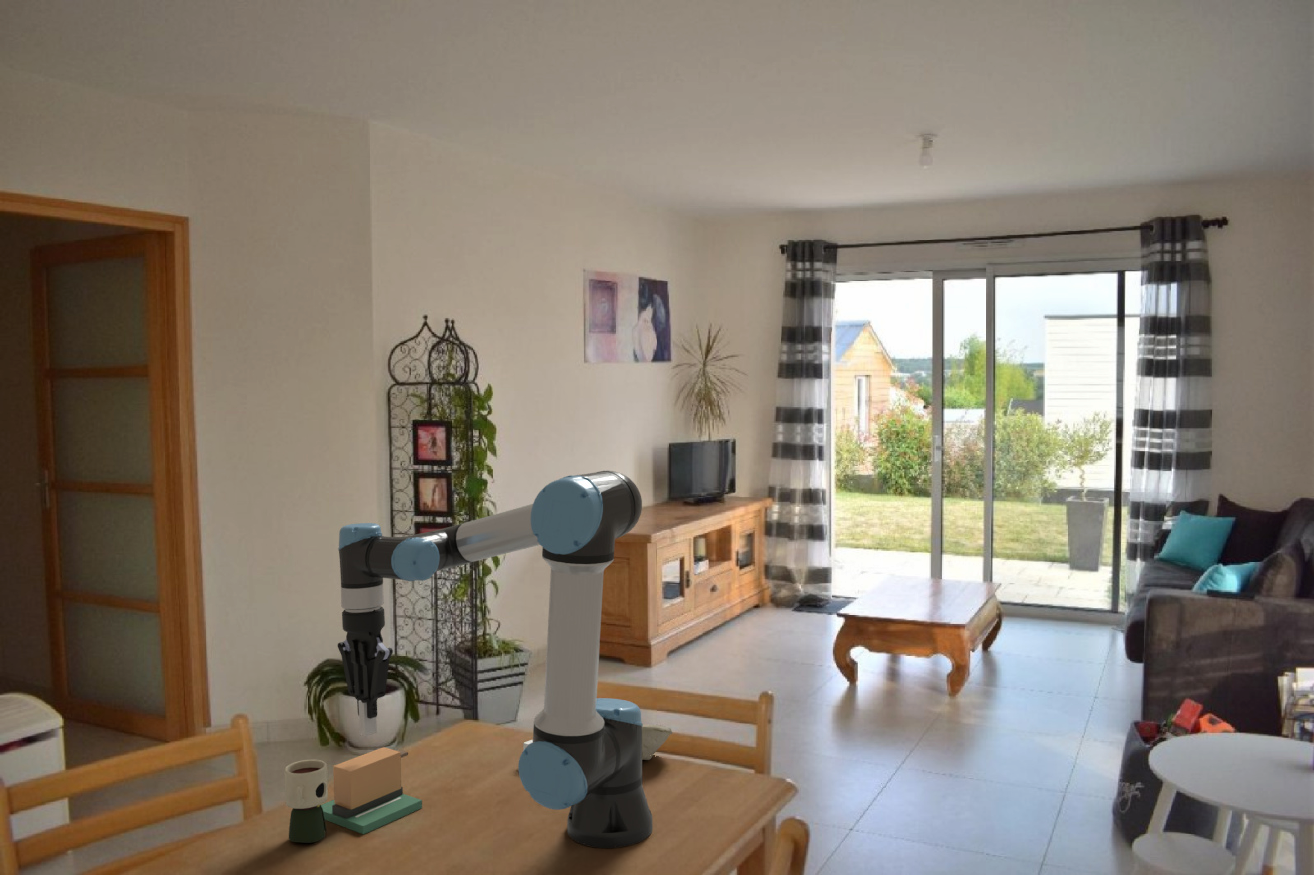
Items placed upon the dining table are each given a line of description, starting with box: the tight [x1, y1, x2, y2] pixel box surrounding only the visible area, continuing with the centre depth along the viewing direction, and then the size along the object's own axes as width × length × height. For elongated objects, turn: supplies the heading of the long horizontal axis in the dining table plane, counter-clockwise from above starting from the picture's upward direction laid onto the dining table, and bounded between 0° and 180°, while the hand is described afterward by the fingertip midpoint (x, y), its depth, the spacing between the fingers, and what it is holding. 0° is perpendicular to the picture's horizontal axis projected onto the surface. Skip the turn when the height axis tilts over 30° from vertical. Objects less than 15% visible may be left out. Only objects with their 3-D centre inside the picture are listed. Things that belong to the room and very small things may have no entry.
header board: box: [321, 786, 423, 835], centre depth 192 cm, size 14×14×7 cm
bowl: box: [642, 723, 673, 761], centre depth 217 cm, size 15×14×10 cm
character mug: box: [283, 759, 329, 844], centre depth 181 cm, size 11×7×13 cm, turn 5°
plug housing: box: [332, 746, 409, 809], centre depth 194 cm, size 5×15×7 cm, turn 145°
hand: (368, 734), depth 192 cm, fingers closed
